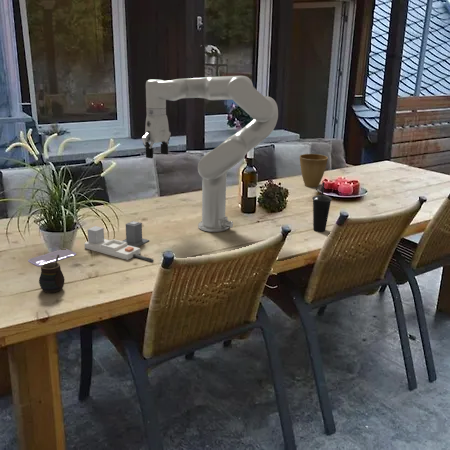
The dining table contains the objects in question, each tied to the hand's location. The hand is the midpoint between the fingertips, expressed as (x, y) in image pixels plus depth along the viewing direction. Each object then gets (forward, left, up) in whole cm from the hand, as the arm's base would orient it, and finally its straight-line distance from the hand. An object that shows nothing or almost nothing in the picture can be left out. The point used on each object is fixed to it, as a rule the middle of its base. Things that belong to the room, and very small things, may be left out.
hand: (157, 155), depth 206 cm
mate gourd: (-11, +67, -29) cm, 74 cm away
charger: (-6, +23, -28) cm, 37 cm away
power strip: (-9, +34, -28) cm, 45 cm away
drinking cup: (-60, -29, -28) cm, 72 cm away
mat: (-6, +23, -28) cm, 37 cm away
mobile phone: (+8, +50, -29) cm, 58 cm away
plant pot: (-31, -95, -28) cm, 104 cm away
